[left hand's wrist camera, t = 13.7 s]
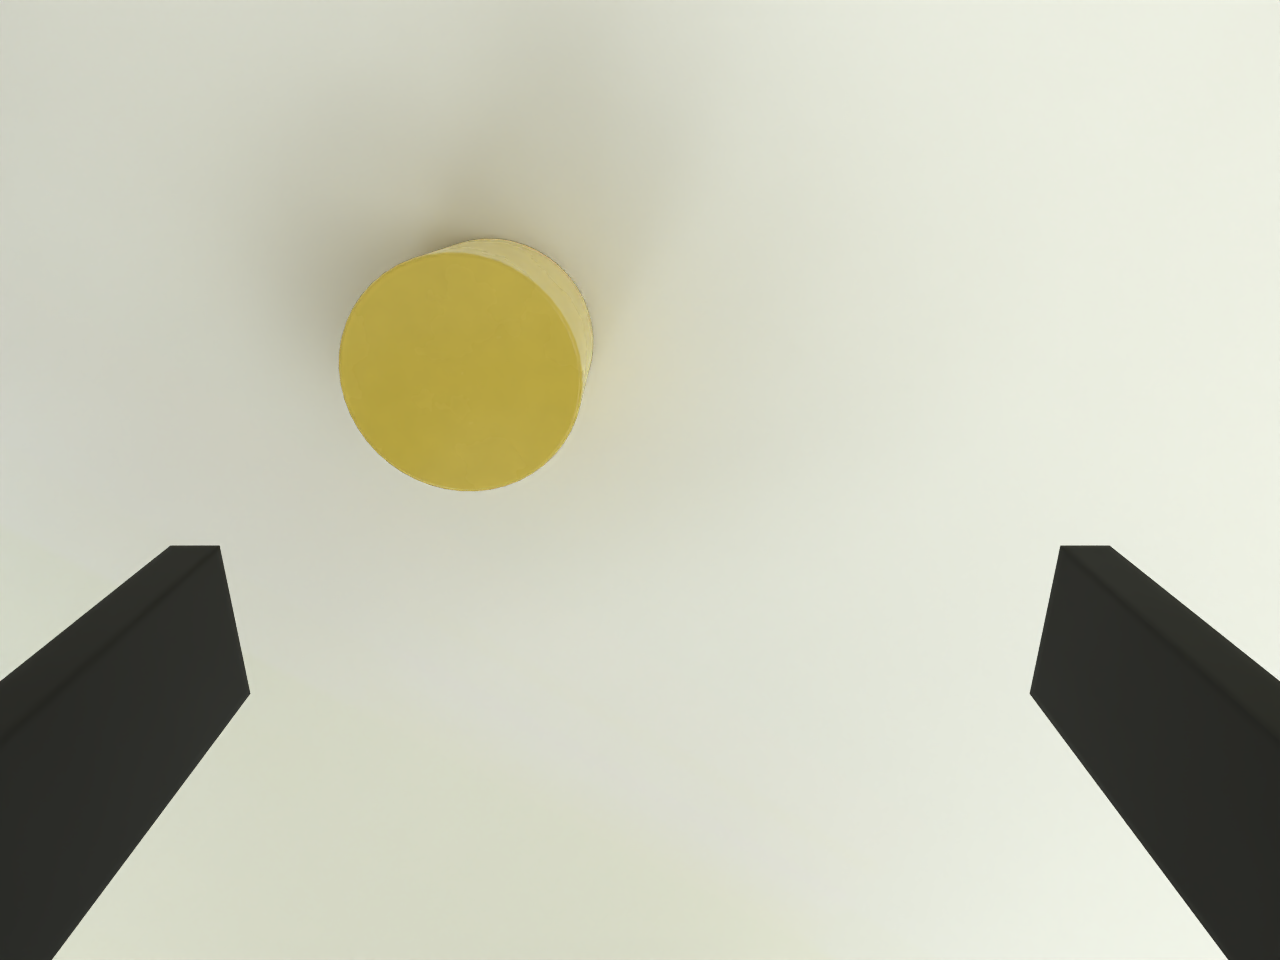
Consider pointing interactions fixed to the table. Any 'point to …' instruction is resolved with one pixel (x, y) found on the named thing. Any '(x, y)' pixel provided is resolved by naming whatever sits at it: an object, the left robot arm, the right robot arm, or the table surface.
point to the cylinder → (468, 363)
